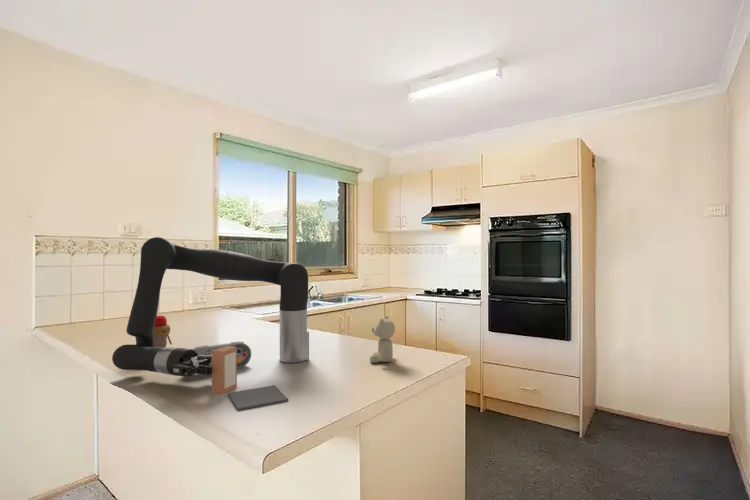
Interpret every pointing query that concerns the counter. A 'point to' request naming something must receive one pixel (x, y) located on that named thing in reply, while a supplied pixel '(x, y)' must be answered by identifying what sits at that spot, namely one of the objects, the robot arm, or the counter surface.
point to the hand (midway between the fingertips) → (222, 366)
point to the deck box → (224, 369)
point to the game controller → (242, 348)
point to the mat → (257, 397)
